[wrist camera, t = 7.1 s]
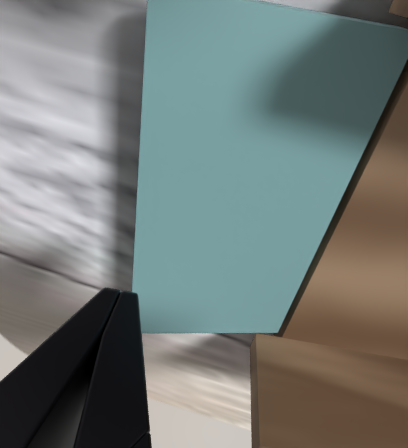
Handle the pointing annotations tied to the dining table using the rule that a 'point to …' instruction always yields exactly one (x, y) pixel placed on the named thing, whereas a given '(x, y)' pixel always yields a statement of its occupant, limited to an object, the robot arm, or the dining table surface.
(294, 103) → the panel
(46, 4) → the dining table surface
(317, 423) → the crate
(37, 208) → the dining table surface
